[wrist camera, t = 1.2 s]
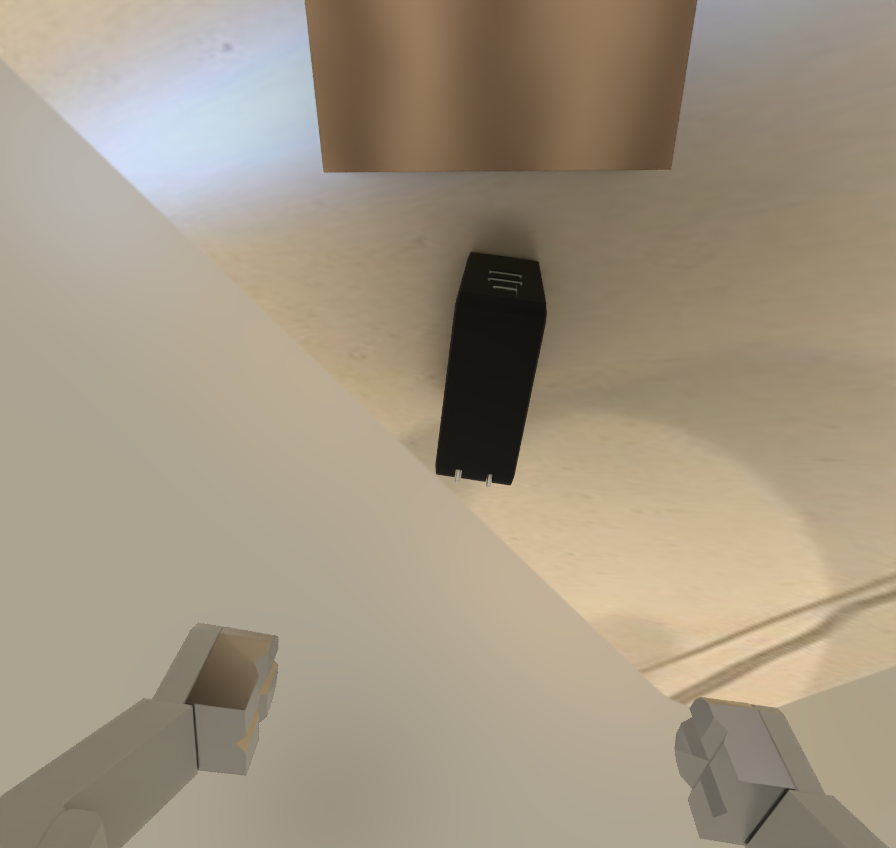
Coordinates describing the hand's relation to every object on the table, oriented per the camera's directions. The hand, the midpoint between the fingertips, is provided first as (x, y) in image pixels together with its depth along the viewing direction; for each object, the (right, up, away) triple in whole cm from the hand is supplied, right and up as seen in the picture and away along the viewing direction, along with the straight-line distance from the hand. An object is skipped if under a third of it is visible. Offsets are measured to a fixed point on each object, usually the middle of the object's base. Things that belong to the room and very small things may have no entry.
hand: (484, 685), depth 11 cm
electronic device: (+2, +11, +26) cm, 28 cm away
